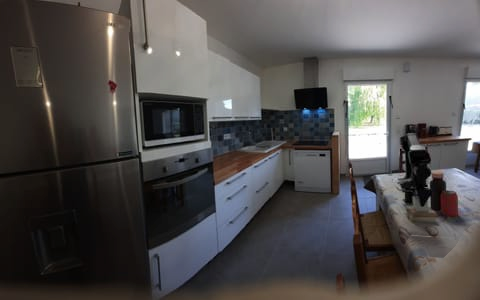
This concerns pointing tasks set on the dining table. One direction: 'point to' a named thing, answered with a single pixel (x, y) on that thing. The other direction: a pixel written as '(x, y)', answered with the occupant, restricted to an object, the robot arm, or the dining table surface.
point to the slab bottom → (421, 218)
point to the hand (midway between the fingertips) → (420, 204)
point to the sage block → (417, 204)
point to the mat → (421, 222)
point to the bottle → (437, 190)
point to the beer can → (449, 203)
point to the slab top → (421, 212)
